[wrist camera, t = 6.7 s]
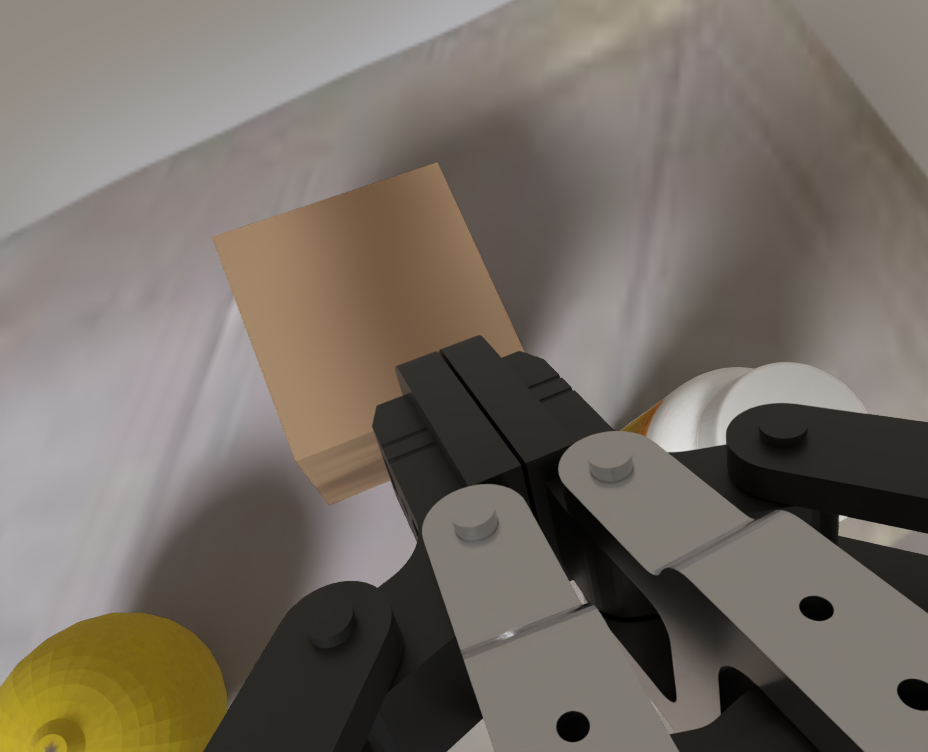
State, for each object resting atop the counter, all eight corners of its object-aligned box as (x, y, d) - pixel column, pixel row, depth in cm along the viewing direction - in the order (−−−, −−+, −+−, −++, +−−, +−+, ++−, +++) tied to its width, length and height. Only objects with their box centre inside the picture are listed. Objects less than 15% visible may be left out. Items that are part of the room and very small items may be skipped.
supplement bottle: (649, 605, 26) (787, 610, 17) (557, 472, 27) (640, 408, 18) (767, 516, 27) (958, 476, 18) (675, 392, 28) (810, 293, 19)
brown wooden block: (329, 505, 26) (295, 461, 18) (270, 349, 28) (211, 237, 19) (489, 439, 27) (532, 368, 19) (425, 292, 29) (437, 162, 20)
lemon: (256, 782, 24) (188, 872, 16) (67, 814, 23) (-97, 924, 15) (244, 597, 25) (177, 599, 17) (67, 622, 25) (-84, 635, 17)
